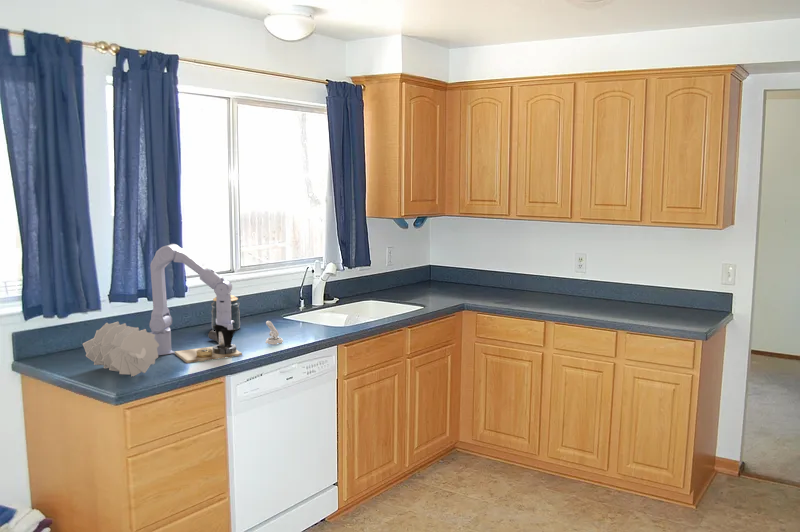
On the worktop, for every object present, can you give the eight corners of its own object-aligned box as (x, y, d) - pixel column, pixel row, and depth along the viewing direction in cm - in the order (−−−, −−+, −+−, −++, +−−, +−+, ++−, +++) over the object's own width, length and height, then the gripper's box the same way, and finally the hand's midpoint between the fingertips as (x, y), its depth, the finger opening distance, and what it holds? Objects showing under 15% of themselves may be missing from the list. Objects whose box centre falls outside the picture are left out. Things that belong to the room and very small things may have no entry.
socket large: (217, 355, 273) (217, 350, 273) (209, 350, 280) (209, 345, 280) (239, 352, 278) (239, 347, 278) (231, 347, 285) (231, 342, 285)
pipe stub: (220, 352, 276) (220, 333, 276) (217, 350, 280) (217, 331, 279) (230, 351, 278) (230, 332, 278) (227, 349, 282) (227, 330, 281)
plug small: (199, 358, 268) (199, 353, 268) (194, 355, 273) (194, 349, 273) (214, 356, 271) (214, 351, 271) (209, 353, 276) (209, 347, 276)
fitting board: (186, 363, 265) (186, 360, 265) (174, 353, 278) (174, 351, 278) (242, 355, 277) (241, 353, 277) (227, 346, 290) (227, 344, 290)
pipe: (216, 338, 304) (216, 321, 303) (234, 343, 296) (233, 325, 295) (204, 341, 300) (204, 323, 299) (222, 346, 291) (221, 327, 290)
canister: (244, 329, 322) (243, 292, 320) (217, 333, 315) (216, 294, 312) (234, 324, 333) (233, 288, 330) (207, 327, 325) (206, 290, 323)
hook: (253, 333, 294) (259, 321, 299) (267, 352, 300) (273, 340, 305) (267, 331, 291) (273, 319, 296) (281, 350, 297) (287, 338, 302)
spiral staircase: (116, 373, 264) (154, 383, 249) (74, 362, 251) (111, 371, 236) (132, 327, 269) (170, 334, 253) (91, 314, 255) (129, 320, 240)
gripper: (240, 313, 273) (240, 346, 275) (227, 306, 285) (227, 339, 287) (222, 314, 269) (223, 348, 271) (210, 308, 281) (211, 341, 283)
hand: (224, 344), depth 279 cm, fingers open, 7 cm apart
